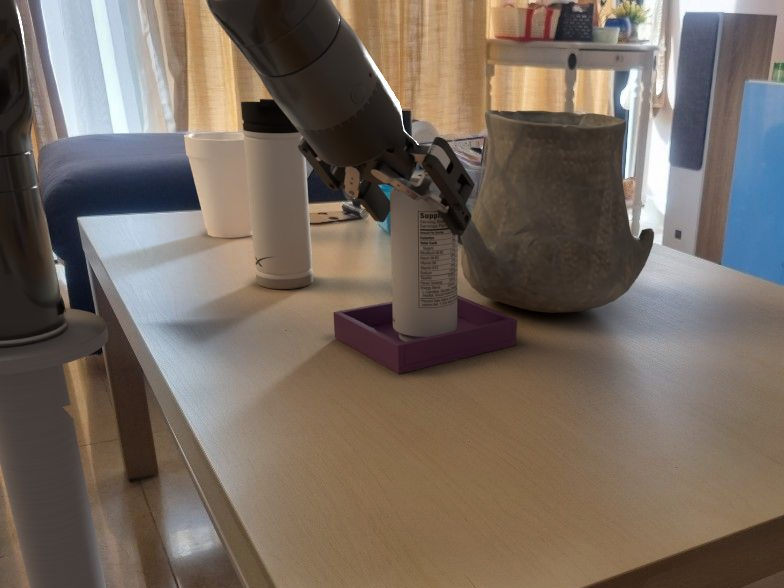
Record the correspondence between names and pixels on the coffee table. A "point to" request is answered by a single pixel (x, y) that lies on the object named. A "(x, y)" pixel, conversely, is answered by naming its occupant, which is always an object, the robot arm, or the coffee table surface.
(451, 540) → the coffee table surface
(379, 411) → the coffee table surface
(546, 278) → the vessel
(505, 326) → the tray
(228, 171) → the foam cup
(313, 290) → the coffee table surface
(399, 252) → the energy drink can
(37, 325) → the robot arm
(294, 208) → the travel mug
